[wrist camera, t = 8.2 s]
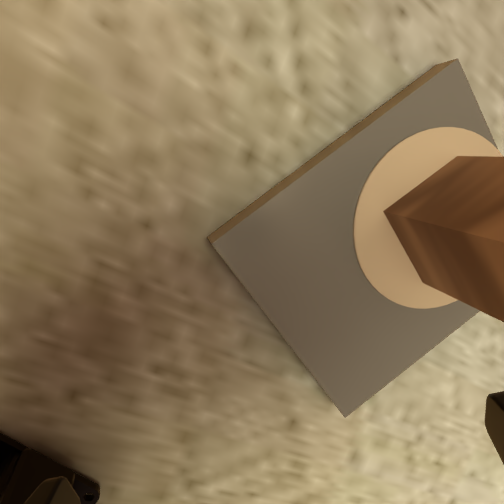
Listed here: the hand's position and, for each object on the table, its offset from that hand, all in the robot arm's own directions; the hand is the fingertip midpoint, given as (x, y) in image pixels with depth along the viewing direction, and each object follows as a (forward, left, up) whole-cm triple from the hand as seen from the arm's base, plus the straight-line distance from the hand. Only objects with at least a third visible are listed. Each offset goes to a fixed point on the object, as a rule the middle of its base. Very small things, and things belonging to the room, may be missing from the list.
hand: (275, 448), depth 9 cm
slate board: (+7, -6, -12) cm, 15 cm away
